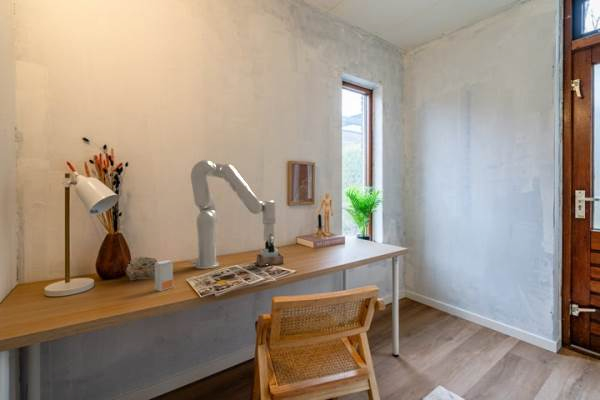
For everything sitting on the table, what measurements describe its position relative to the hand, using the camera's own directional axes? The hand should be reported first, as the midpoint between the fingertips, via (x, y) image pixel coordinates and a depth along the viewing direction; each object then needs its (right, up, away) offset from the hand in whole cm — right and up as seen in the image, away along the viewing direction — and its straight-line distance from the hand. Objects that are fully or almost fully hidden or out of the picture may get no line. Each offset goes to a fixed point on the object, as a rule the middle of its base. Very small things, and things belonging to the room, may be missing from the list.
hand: (269, 250), depth 161 cm
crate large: (0, -7, 0) cm, 7 cm away
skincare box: (-42, -9, -41) cm, 59 cm away
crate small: (0, -7, 0) cm, 7 cm away
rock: (-62, -9, -21) cm, 67 cm away
